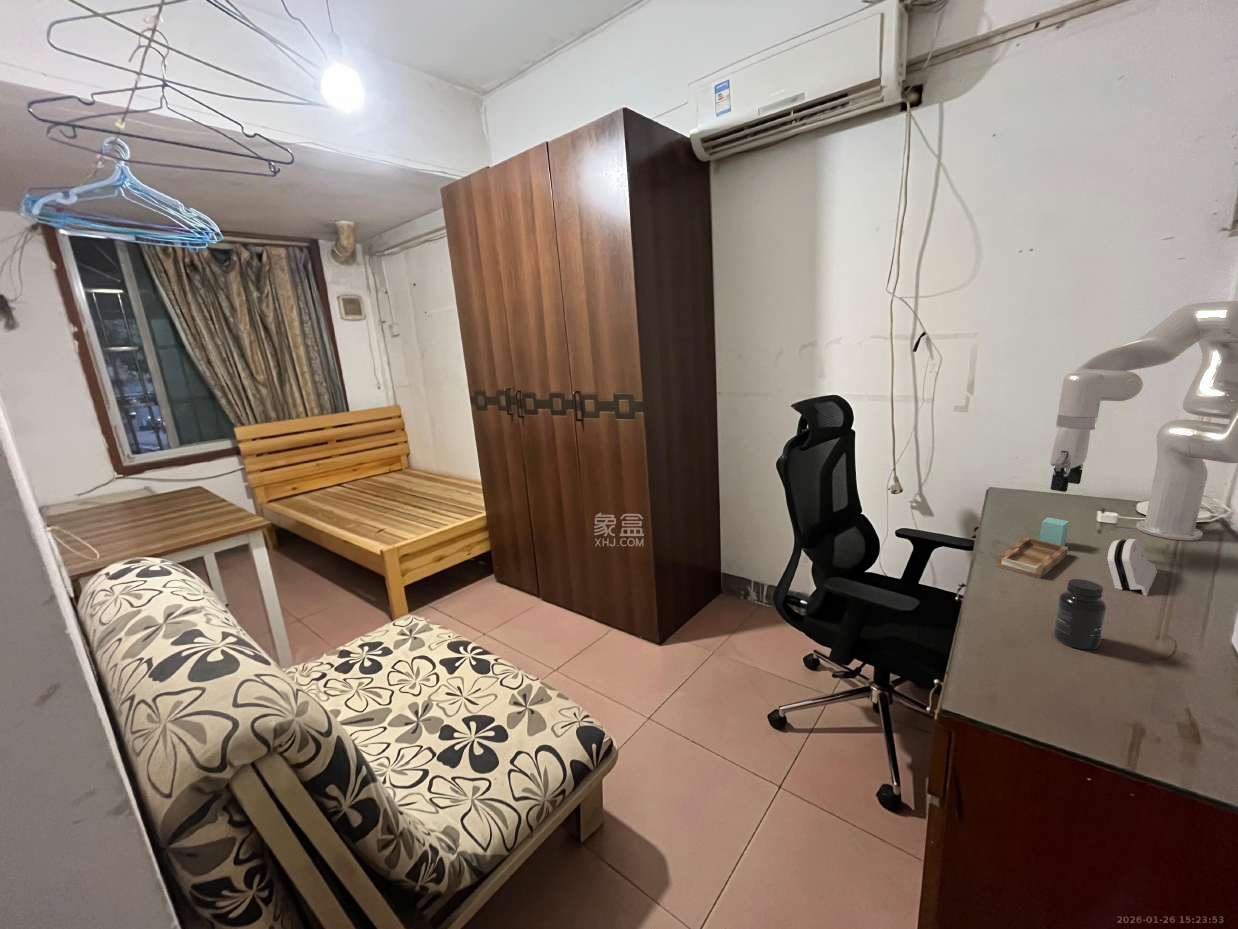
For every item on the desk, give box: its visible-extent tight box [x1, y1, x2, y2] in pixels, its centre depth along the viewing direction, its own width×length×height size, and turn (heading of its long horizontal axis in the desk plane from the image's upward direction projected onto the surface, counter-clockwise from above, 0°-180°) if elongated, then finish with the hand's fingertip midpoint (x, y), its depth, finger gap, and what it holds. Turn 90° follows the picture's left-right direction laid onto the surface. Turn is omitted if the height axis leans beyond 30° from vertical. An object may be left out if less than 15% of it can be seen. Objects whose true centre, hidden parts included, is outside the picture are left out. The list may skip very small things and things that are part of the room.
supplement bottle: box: [1052, 578, 1108, 651], centre depth 96 cm, size 7×7×12 cm
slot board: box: [995, 537, 1069, 579], centre depth 129 cm, size 19×9×2 cm, turn 125°
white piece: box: [1107, 538, 1158, 597], centre depth 117 cm, size 17×5×10 cm, turn 128°
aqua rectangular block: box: [1038, 516, 1070, 547], centre depth 136 cm, size 4×4×7 cm
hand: (1065, 486), depth 131 cm, fingers open, 9 cm apart
